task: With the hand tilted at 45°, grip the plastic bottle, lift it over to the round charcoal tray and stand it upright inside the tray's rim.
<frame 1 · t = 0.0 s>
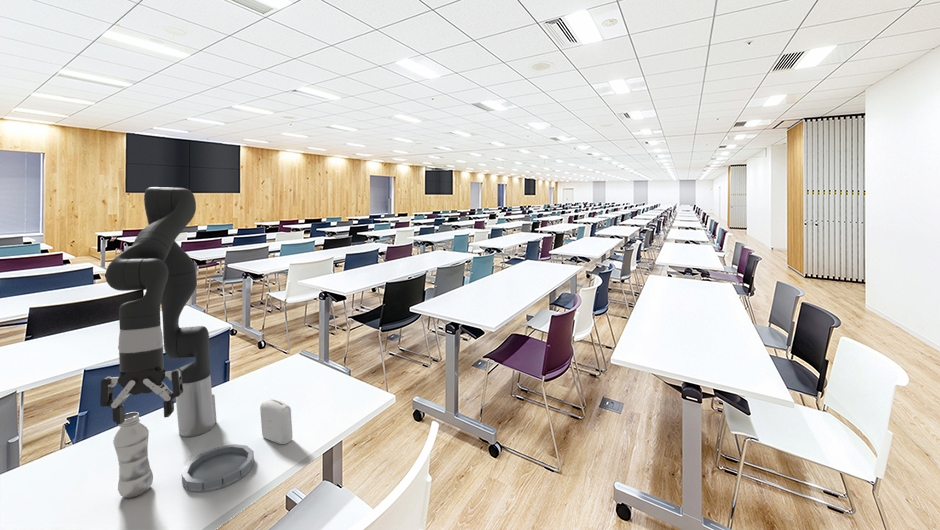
hand: (144, 419, 87), 22 cm above the table, tool pointing down, fingers open, 8 cm apart
photo printer: (277, 439, 119), on the table
round tray: (219, 470, 104), on the table
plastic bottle: (137, 492, 95), on the table
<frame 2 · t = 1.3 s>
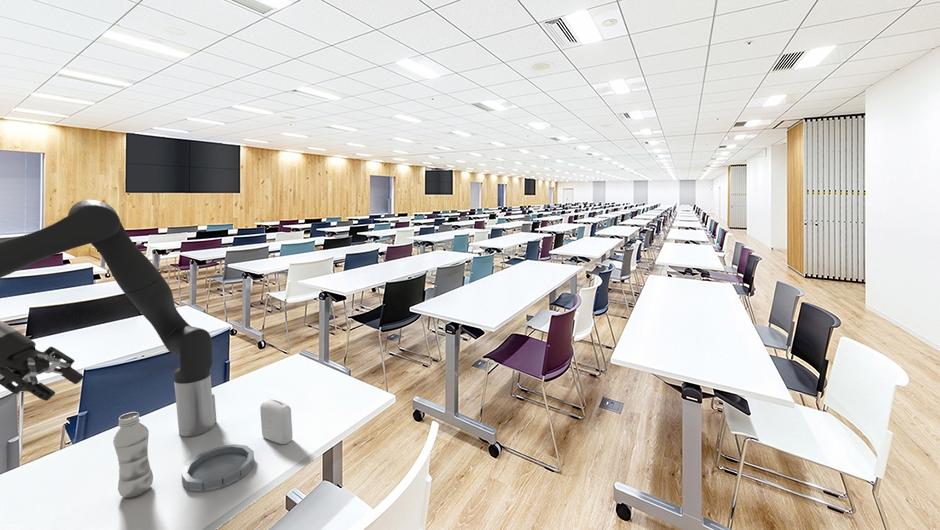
hand: (66, 388, 89), 28 cm above the table, tool tilted 45°, fingers open, 8 cm apart
nothing on the table moved.
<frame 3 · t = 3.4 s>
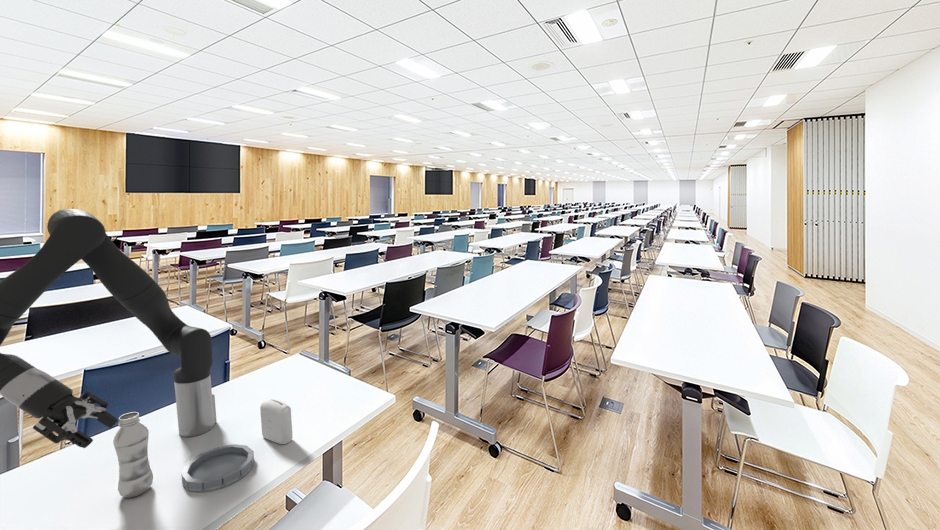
hand: (102, 433, 92), 16 cm above the table, tool tilted 45°, fingers open, 8 cm apart
nothing on the table moved.
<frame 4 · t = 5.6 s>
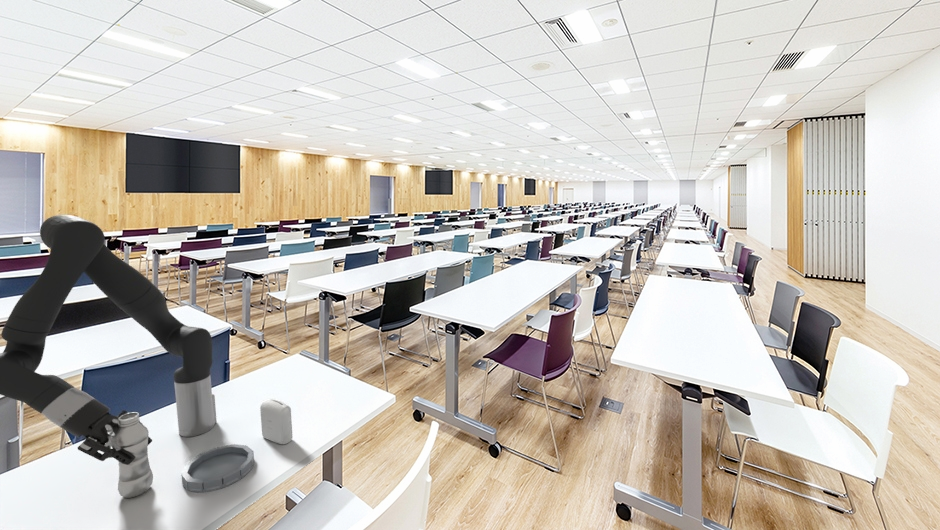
hand: (140, 452, 94), 10 cm above the table, tool tilted 45°, fingers closed on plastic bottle, 6 cm apart
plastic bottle: (137, 492, 95), on the table, touching gripper
everything else where it was.
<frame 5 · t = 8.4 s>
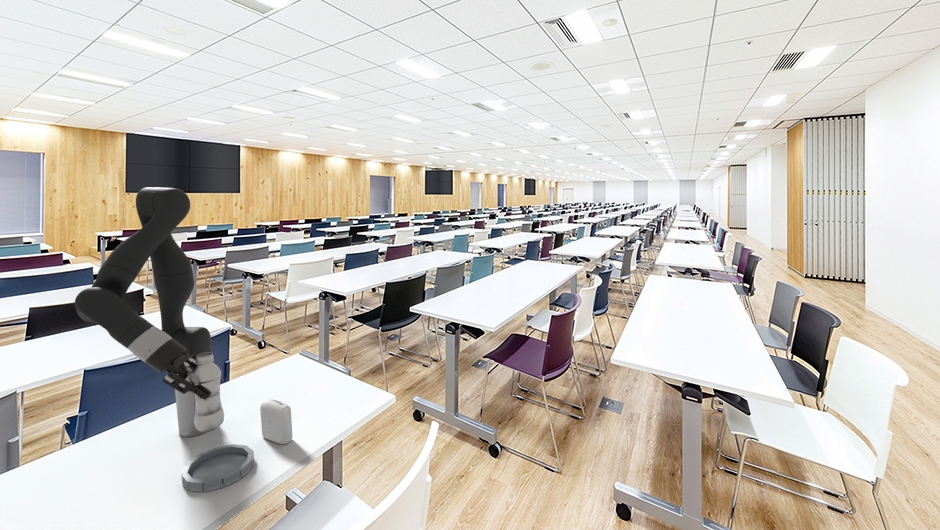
hand: (214, 390, 100), 23 cm above the table, tool tilted 45°, fingers closed on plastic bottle, 6 cm apart
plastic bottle: (210, 428, 101), point 12 cm above the table, touching gripper
everything else where it was.
when the fingers open (12 cm above the table, at t = 11.2 s): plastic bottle drops 1 cm, resting on round tray.
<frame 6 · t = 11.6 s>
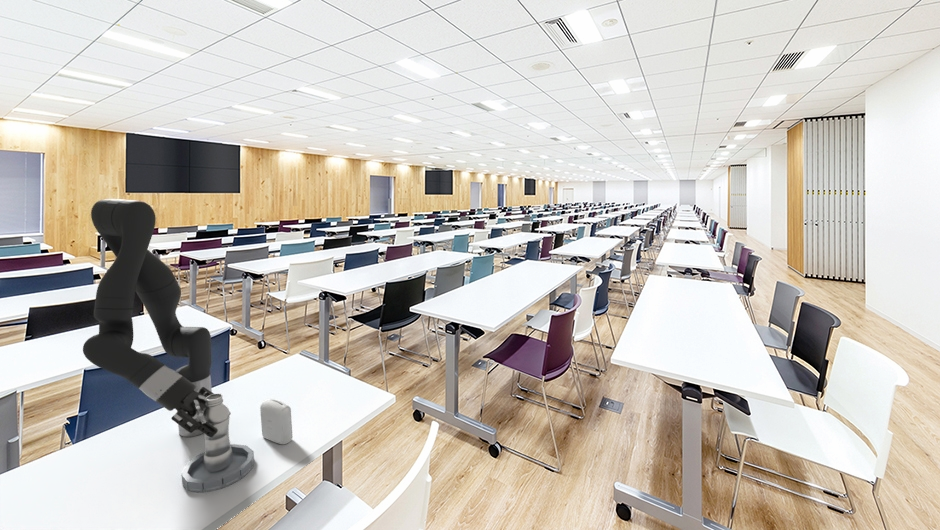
hand: (221, 425, 102), 13 cm above the table, tool tilted 45°, fingers open, 8 cm apart
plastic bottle: (219, 467, 104), point 1 cm above the table, touching round tray
everything else where it was.
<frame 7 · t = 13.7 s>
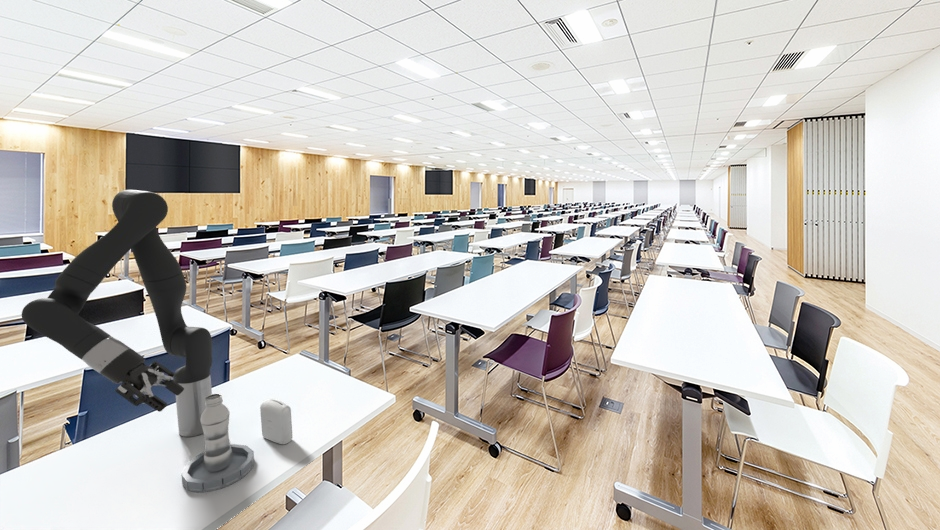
hand: (173, 400, 98), 22 cm above the table, tool tilted 45°, fingers open, 8 cm apart
nothing on the table moved.
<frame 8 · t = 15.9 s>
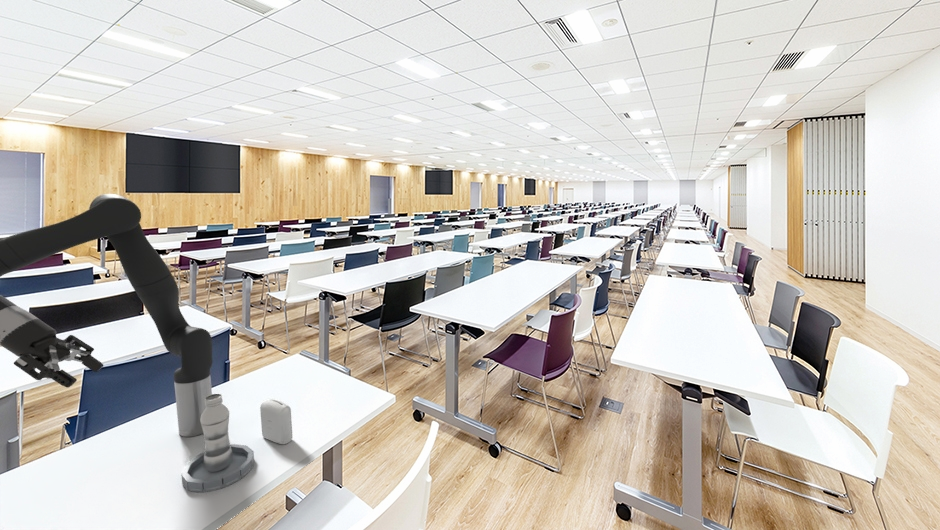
hand: (87, 376, 90), 31 cm above the table, tool tilted 45°, fingers open, 8 cm apart
nothing on the table moved.
at the end: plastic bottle inside the target area on the round tray (0.5 cm from its centre), point 0.6 cm above the round tray's base; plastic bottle tilted 0°; the gripper is holding nothing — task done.
